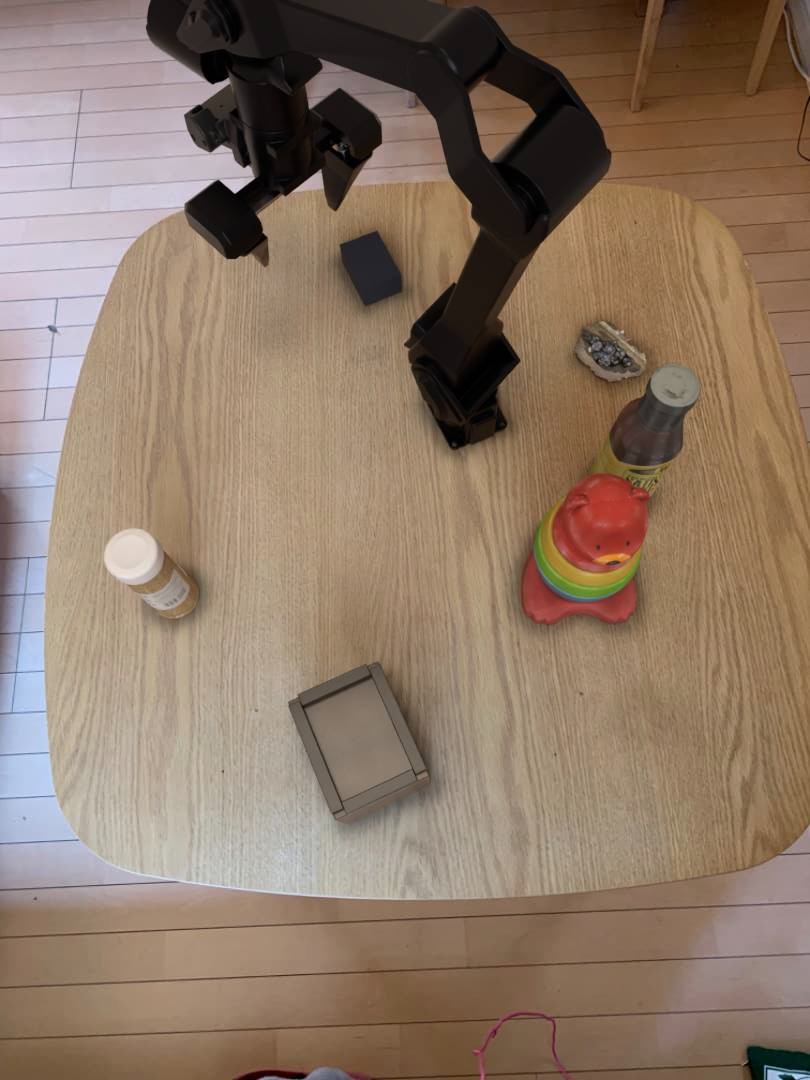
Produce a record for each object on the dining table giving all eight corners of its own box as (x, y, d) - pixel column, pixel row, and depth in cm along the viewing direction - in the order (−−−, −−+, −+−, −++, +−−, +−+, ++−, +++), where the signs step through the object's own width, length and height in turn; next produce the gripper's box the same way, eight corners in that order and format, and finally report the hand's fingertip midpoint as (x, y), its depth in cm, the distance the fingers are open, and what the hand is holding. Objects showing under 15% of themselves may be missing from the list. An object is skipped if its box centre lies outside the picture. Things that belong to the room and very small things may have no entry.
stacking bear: (522, 625, 80) (546, 566, 63) (516, 525, 84) (537, 444, 67) (637, 624, 80) (691, 564, 63) (627, 523, 83) (675, 441, 67)
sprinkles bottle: (190, 567, 83) (146, 517, 71) (206, 608, 82) (165, 563, 69) (146, 587, 83) (94, 540, 70) (162, 628, 81) (112, 587, 68)
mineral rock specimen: (588, 315, 92) (591, 305, 90) (658, 343, 90) (663, 333, 88) (563, 364, 90) (566, 355, 88) (635, 393, 88) (639, 384, 86)
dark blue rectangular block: (341, 262, 95) (339, 244, 92) (378, 248, 96) (377, 229, 93) (365, 306, 93) (362, 289, 90) (402, 291, 93) (401, 274, 91)
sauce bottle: (606, 530, 83) (657, 437, 65) (573, 478, 85) (613, 374, 66) (663, 500, 84) (729, 401, 65) (629, 450, 86) (683, 340, 67)
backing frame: (305, 719, 78) (285, 699, 67) (384, 683, 79) (377, 658, 68) (347, 824, 74) (333, 820, 64) (430, 785, 75) (429, 775, 65)
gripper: (290, -8, 72) (312, 136, 87) (118, 115, 68) (171, 244, 82) (382, 61, 69) (389, 198, 84) (208, 194, 65) (247, 313, 80)
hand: (298, 235), depth 83 cm, fingers open, 9 cm apart
